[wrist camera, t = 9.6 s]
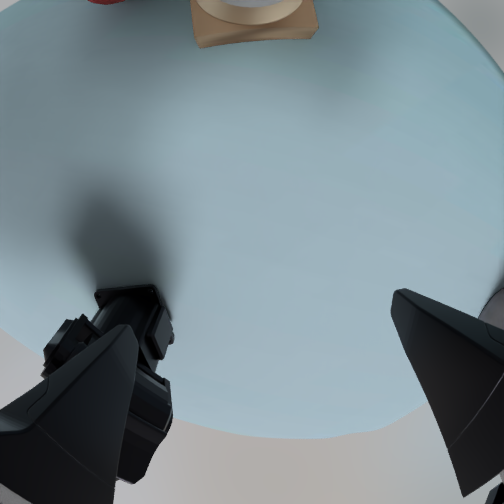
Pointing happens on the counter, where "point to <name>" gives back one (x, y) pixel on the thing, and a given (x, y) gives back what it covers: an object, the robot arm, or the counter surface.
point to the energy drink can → (251, 2)
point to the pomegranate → (105, 1)
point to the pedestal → (251, 22)
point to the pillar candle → (494, 310)
